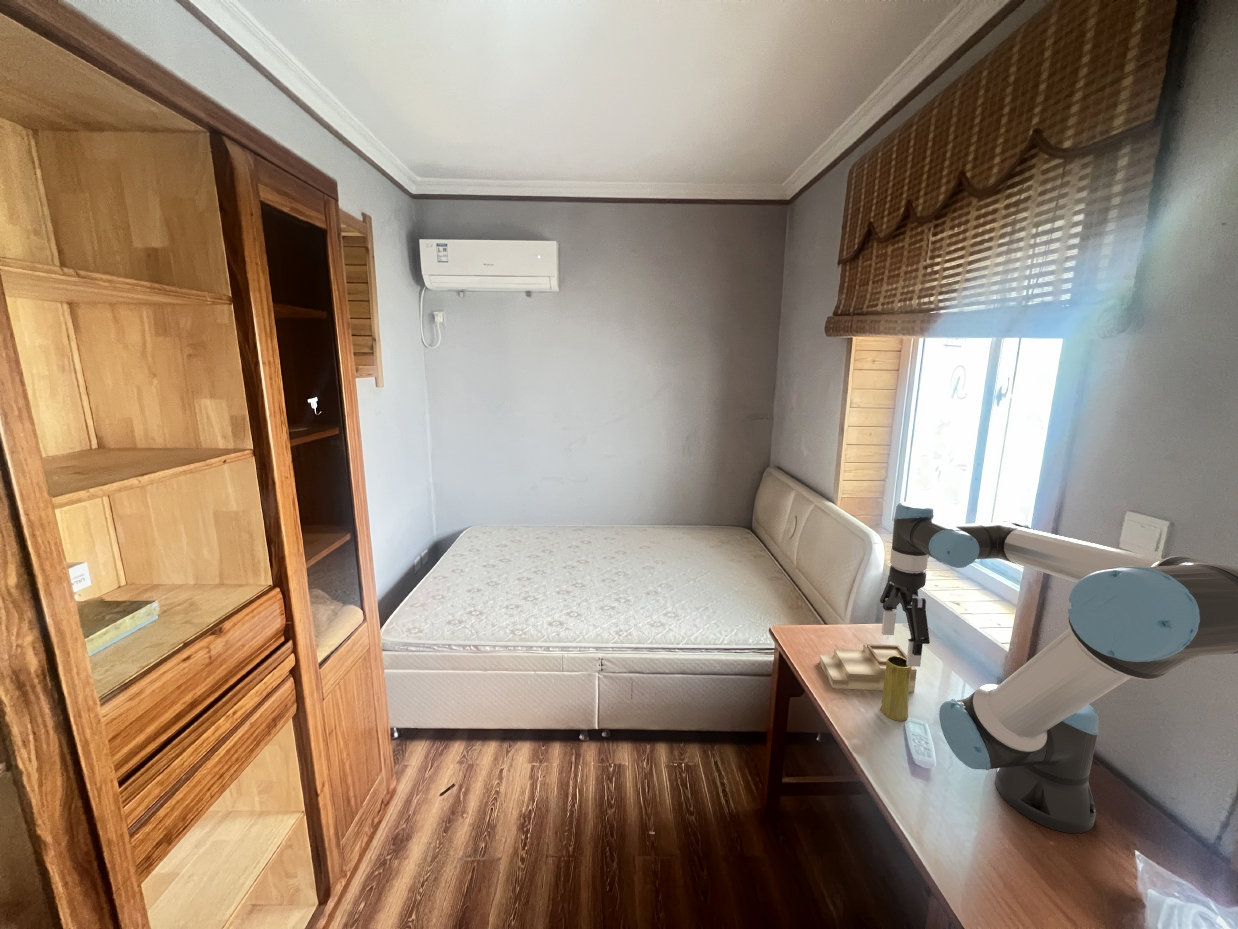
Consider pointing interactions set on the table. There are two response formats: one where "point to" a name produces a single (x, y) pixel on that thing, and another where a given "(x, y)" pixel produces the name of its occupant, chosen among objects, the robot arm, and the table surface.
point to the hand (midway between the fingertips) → (899, 649)
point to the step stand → (862, 667)
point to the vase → (896, 689)
